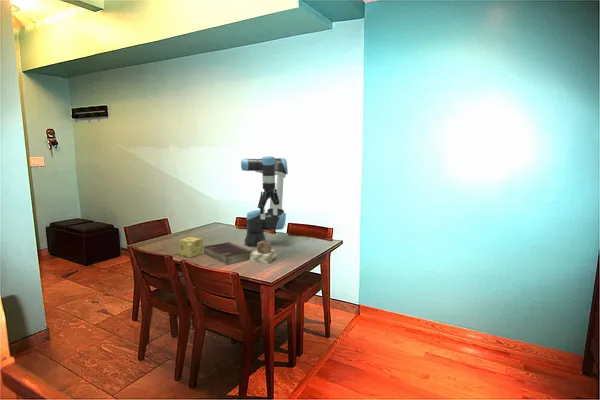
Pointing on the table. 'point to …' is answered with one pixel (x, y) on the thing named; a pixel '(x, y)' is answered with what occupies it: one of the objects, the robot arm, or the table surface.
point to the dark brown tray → (227, 252)
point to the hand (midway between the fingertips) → (269, 217)
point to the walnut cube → (264, 247)
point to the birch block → (262, 256)
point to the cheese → (190, 246)
